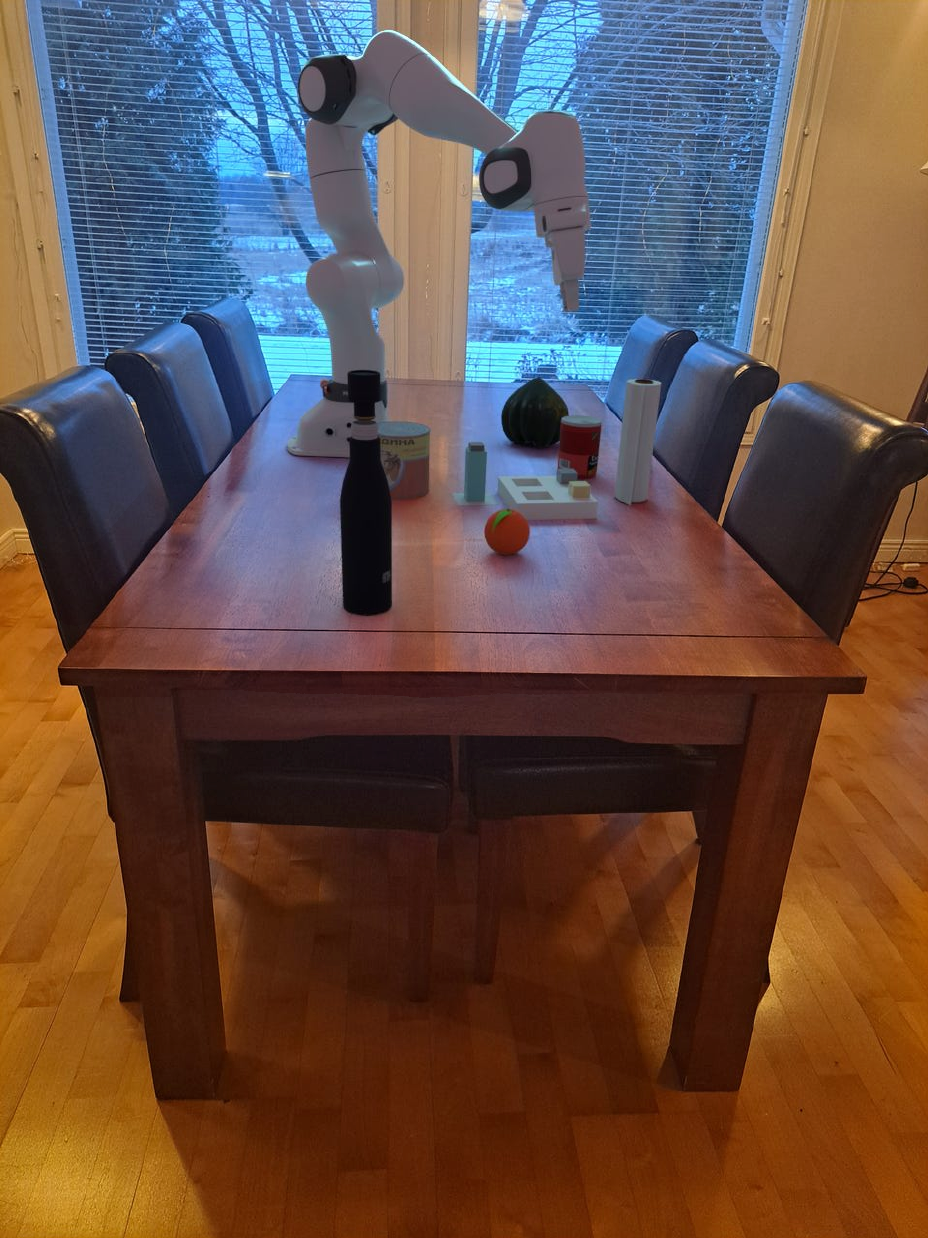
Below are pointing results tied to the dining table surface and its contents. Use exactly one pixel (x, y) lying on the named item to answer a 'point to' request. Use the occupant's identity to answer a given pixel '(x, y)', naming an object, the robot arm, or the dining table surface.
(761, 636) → the dining table surface
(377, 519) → the insulated water bottle
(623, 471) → the paper towel roll
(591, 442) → the canned food
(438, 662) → the dining table surface
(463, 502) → the mat
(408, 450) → the canned food
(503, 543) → the clementine
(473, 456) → the plug
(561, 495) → the block
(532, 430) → the squash
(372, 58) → the robot arm
